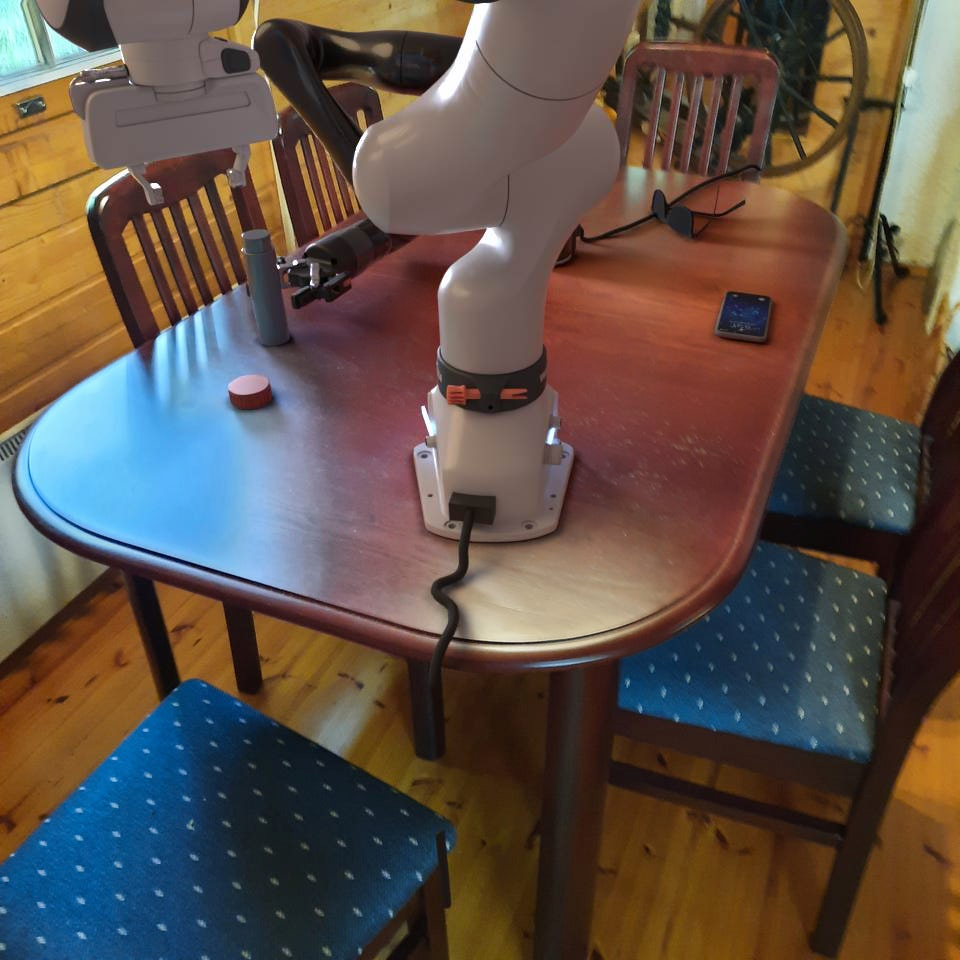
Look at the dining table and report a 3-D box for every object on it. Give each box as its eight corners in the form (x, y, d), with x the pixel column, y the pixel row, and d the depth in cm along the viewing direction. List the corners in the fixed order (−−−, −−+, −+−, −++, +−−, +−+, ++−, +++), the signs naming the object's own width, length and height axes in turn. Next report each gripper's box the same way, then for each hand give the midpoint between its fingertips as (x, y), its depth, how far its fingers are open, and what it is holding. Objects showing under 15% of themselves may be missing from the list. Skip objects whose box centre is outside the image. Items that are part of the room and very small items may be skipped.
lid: (235, 389, 115) (231, 374, 113) (275, 387, 115) (272, 373, 113) (227, 410, 110) (223, 395, 109) (269, 409, 110) (266, 394, 109)
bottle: (282, 347, 124) (263, 241, 115) (254, 344, 125) (233, 238, 116) (295, 333, 128) (277, 229, 118) (267, 330, 129) (248, 227, 119)
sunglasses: (756, 231, 156) (761, 204, 153) (684, 241, 153) (688, 214, 150) (711, 202, 169) (714, 176, 166) (644, 211, 166) (646, 185, 163)
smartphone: (773, 295, 132) (766, 339, 121) (772, 301, 133) (765, 345, 121) (725, 289, 134) (713, 331, 123) (724, 295, 135) (712, 337, 123)
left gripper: (70, 78, 81) (111, 222, 89) (272, 51, 90) (292, 183, 98) (55, 67, 85) (95, 205, 93) (250, 42, 94) (271, 170, 102)
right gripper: (300, 227, 134) (228, 263, 123) (374, 242, 129) (305, 282, 117) (307, 272, 139) (238, 311, 128) (379, 289, 133) (313, 331, 122)
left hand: (198, 194), depth 96 cm, fingers open, 8 cm apart
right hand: (270, 297), depth 123 cm, fingers open, 8 cm apart
